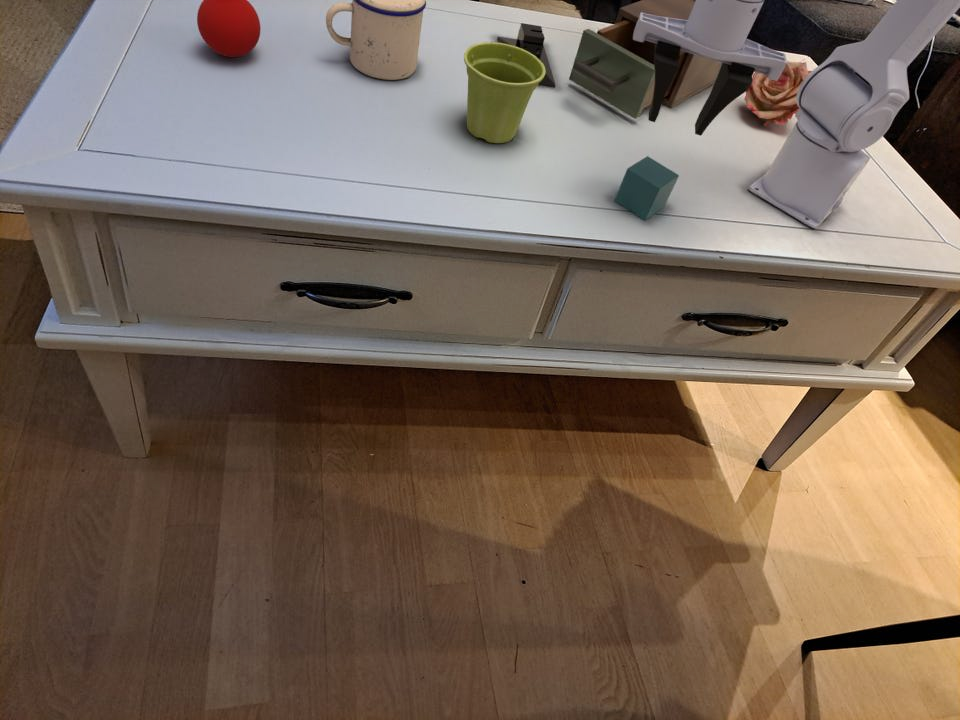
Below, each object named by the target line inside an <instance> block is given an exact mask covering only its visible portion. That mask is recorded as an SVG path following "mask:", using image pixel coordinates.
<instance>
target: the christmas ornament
mask: <svg viewBox="0 0 960 720" xmlns="http://www.w3.org/2000/svg"><path fill="white" fill-rule="evenodd" d="M200 3H201V4H200V5H199V6H198V9H197V15H196V24H197V28H198V32H199V34H200V36H201V38H202V40H203V42H204V43H205V44H206V45H207V46H208V47H209V48H210V49H211V50H212V51H213V52H215V53H217V54H219V55H221V56H224V57H229V58H240V57H242V56H245V55H247V54H249V53H250V52H252V50H254V49H255V47H256V46H257V44H258V43H259V41H260V40H259V39H260V38H261V37H260V36H261V22H260V21H261V20H260V18H259V15H258V12H257V11H256V9H255V8H254V6H253V5H252V4H251V2H250V1H249V0H202V2H200Z"/></svg>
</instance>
